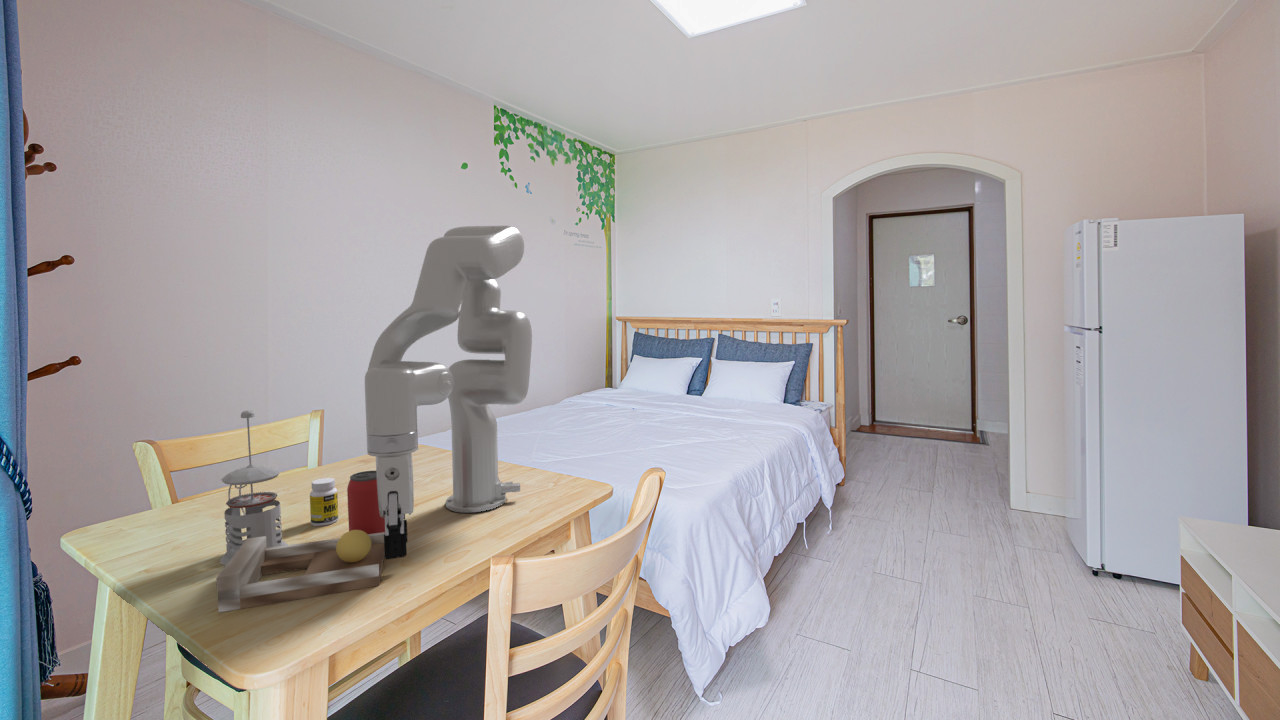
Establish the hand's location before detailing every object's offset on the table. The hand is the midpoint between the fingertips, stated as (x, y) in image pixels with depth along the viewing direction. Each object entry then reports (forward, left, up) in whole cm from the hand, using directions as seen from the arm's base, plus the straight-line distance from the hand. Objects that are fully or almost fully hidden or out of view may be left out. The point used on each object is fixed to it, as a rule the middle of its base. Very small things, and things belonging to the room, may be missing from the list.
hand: (396, 549), depth 88 cm
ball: (+6, 0, +2) cm, 6 cm away
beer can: (+5, -13, -3) cm, 14 cm away
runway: (+12, 0, -2) cm, 12 cm away
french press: (+23, -14, -3) cm, 28 cm away
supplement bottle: (+14, -25, -3) cm, 29 cm away
